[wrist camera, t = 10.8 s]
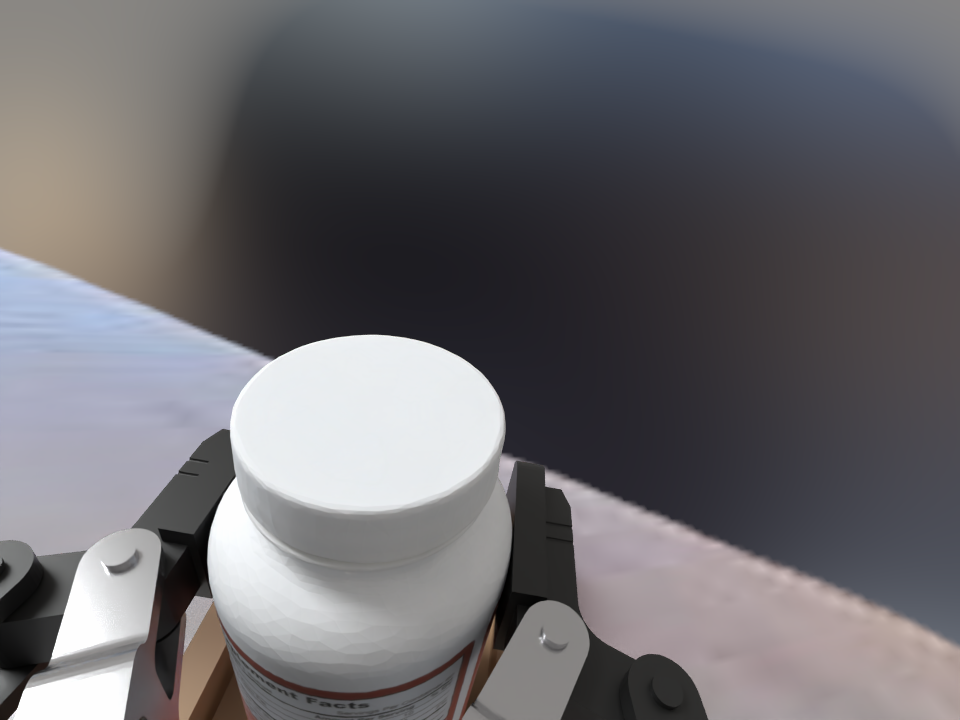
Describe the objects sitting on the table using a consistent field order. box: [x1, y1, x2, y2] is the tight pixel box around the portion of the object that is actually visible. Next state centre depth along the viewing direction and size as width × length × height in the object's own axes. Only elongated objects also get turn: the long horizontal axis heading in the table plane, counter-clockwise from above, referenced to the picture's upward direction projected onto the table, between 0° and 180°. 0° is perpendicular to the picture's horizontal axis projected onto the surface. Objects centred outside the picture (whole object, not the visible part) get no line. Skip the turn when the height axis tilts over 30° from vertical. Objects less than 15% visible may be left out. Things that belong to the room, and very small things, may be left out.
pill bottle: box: [207, 335, 512, 720], centre depth 12 cm, size 6×6×11 cm
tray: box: [179, 601, 504, 720], centre depth 15 cm, size 13×10×2 cm
